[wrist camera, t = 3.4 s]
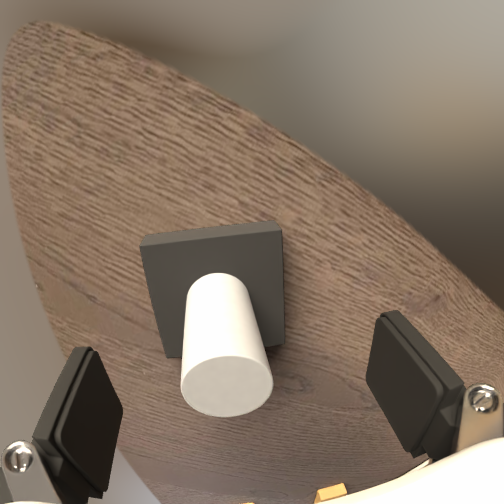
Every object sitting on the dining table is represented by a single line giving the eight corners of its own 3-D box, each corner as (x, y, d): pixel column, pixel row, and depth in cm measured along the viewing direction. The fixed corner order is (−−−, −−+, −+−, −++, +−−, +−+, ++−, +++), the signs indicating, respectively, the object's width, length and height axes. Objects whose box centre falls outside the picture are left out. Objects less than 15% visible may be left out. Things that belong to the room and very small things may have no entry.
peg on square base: (145, 234, 14) (101, 316, 7) (274, 220, 14) (330, 289, 8) (168, 341, 16) (157, 447, 9) (279, 327, 17) (317, 428, 10)
